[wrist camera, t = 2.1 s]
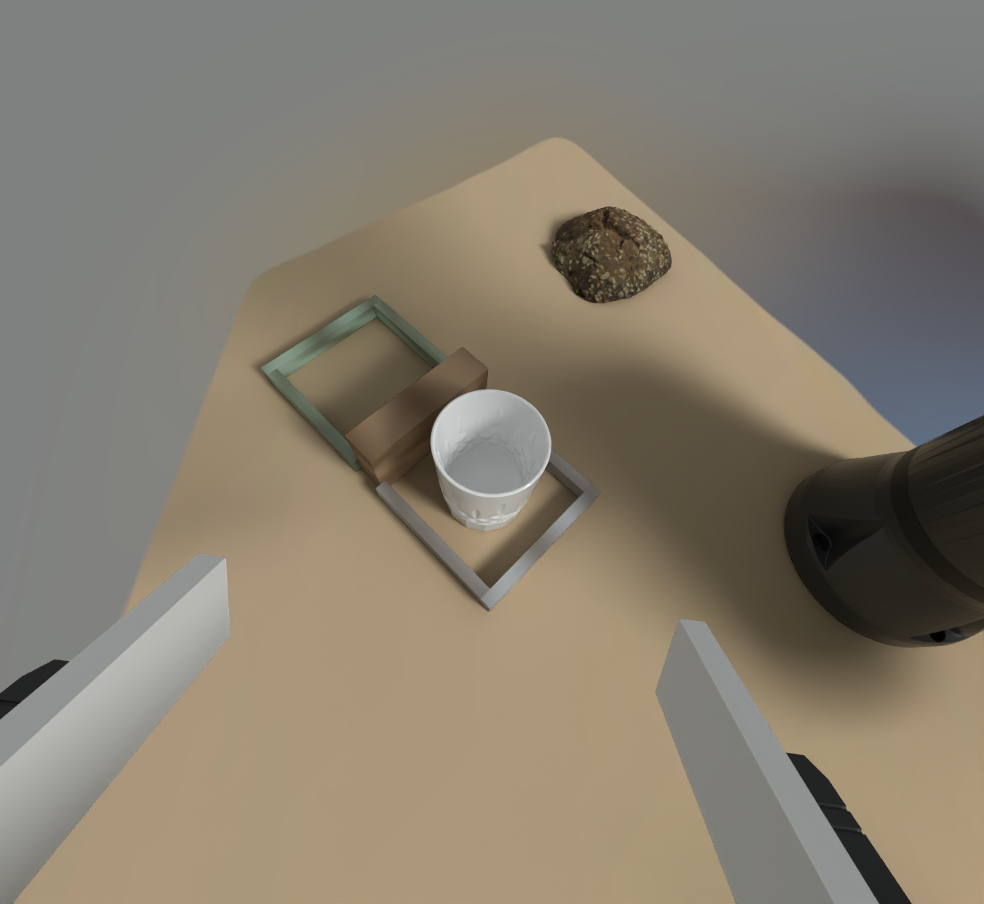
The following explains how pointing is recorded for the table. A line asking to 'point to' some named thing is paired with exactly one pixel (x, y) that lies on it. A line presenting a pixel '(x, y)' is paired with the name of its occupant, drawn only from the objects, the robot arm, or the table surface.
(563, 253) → the bread roll
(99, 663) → the robot arm
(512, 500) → the white cup
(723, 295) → the table surface
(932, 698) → the table surface
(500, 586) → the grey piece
